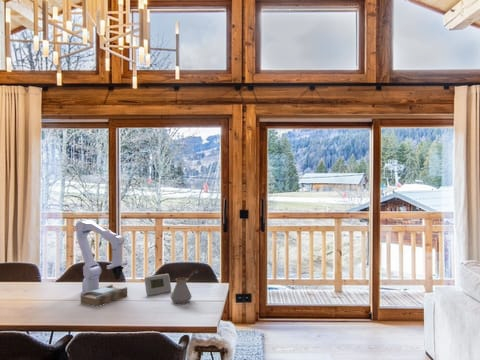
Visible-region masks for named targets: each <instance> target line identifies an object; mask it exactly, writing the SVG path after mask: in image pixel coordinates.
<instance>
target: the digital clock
mask: <svg viewBox="0 0 480 360" xmlns="http://www.w3.org/2000/svg"><path fill="white" fill-rule="evenodd" d="M144 284H145V286H144V287H145V291H146V296H148V297H149V296H155V295H162V294H166V293H169V292H172V284H171V277H170V274H169V273H163V274H162V273H161V274H155V275H148V276H145V277H144Z"/></svg>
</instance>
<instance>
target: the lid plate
mask: <svg viewBox="0 0 480 360" xmlns="http://www.w3.org/2000/svg"><path fill="white" fill-rule="evenodd" d="M103 287H104V288H102V287H100V288H101V289H97V290H94V291H91V294H94V295H102V294H106V293H109V292H112V291H115V290H117V289H113V288H107V287H105V286H103Z"/></svg>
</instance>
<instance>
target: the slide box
mask: <svg viewBox="0 0 480 360" xmlns="http://www.w3.org/2000/svg"><path fill="white" fill-rule="evenodd" d="M104 287H107V288H113V289H117V290H115V291H112V292H109V293H106V294H102V295H94V294H91V291H88V292H85V293H80V304H82V303H83V304H82V305H87V304H89V305H88V306H92V305H94V306H93V307H96V306H98V307H101V306H103V304H104V305H106V303H107V304H110V303H112V302H115V301H118V300H120V299H124V298H126V297H128V286H124V287H116V286H114V285H113V284H109V285H106V286H105V285H104V286H102V287H99V288H98V289H101V288H104ZM95 290H97V289H95ZM92 291H94V290H92ZM109 302H110V303H109ZM100 305H101V306H100Z"/></svg>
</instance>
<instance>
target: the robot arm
mask: <svg viewBox="0 0 480 360" xmlns="http://www.w3.org/2000/svg"><path fill="white" fill-rule="evenodd" d="M74 229H75V231H76V239H77V242H78V245H79V248H80V252H81V254H82V255H81V256H82V258H83V260H84V265H83V266H82V272H83V273H82V274H83V277H84V278H83V280H82V284H81V285H82V286H81V287H82V291H81V292H80V294H82V293H85V292H88V291H92V290H95V289H98V288H100V287H99V286H100V281H99V280H100V277H101V276H100V275H101V274H102V271H103V270H102V267H101V266H100V264H99V263H98V262H97V261H96V260H95V258H94V254H93V252H92V248H91V245H90V243H89V239H88V235H89V234H90V233H91V231H93V232H95V233H97V234H99V235H101V237H102V239H104V240H106V241H107V242H108V243H110V245H111V250H112V252H111V253H112V257H111V259H112V260H111V261H112V263H110V264H109V265H106V270H111V271H112V273H113V275H114V278H115V280H117V281H118V280H120V277H121V274H122V272H123V270H124V266H128V261H123V245H124V244H125V237H124V235H121V234H117V233H115V232H113V231H112V230H111V229H104V228H103V227H101V226H100V225H98V224H97V223H96V221H93V220H92V219H88V220H79V221H78V222H76V224H75V225H74Z"/></svg>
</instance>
